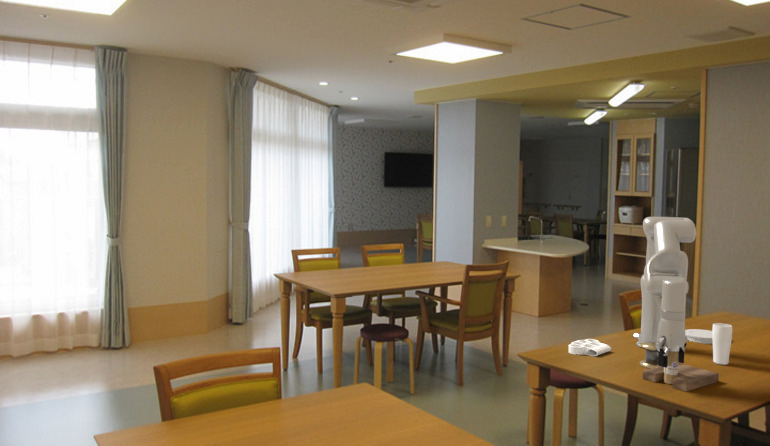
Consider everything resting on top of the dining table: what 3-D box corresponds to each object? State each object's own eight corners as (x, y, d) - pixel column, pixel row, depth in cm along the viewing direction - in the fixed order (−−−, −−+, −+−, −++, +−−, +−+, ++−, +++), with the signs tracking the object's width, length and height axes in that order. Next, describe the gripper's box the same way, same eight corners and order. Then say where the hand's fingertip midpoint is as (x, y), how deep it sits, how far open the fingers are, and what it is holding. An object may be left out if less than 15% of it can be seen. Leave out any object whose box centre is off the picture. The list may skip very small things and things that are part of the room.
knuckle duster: (592, 359, 243) (559, 351, 253) (614, 351, 255) (582, 344, 265) (593, 351, 242) (560, 343, 253) (615, 343, 255) (582, 337, 265)
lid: (739, 345, 267) (740, 338, 267) (693, 344, 268) (693, 337, 267) (718, 335, 285) (719, 329, 284) (675, 335, 285) (675, 328, 285)
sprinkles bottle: (671, 385, 210) (672, 346, 209) (660, 381, 214) (661, 343, 213) (680, 384, 212) (682, 345, 211) (669, 380, 216) (671, 342, 215)
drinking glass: (733, 366, 234) (735, 327, 233) (714, 365, 235) (715, 326, 234) (727, 361, 241) (728, 323, 240) (708, 360, 242) (710, 322, 241)
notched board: (642, 378, 217) (642, 370, 217) (675, 370, 228) (675, 362, 228) (685, 391, 204) (686, 382, 204) (718, 381, 215) (718, 373, 215)
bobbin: (634, 364, 235) (635, 343, 235) (648, 360, 240) (649, 340, 239) (656, 370, 227) (657, 349, 227) (670, 366, 232) (671, 345, 232)
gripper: (677, 310, 219) (675, 358, 220) (647, 316, 210) (646, 365, 211) (697, 314, 213) (695, 363, 214) (668, 320, 203) (666, 371, 205)
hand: (671, 364), depth 212 cm, fingers open, 9 cm apart
